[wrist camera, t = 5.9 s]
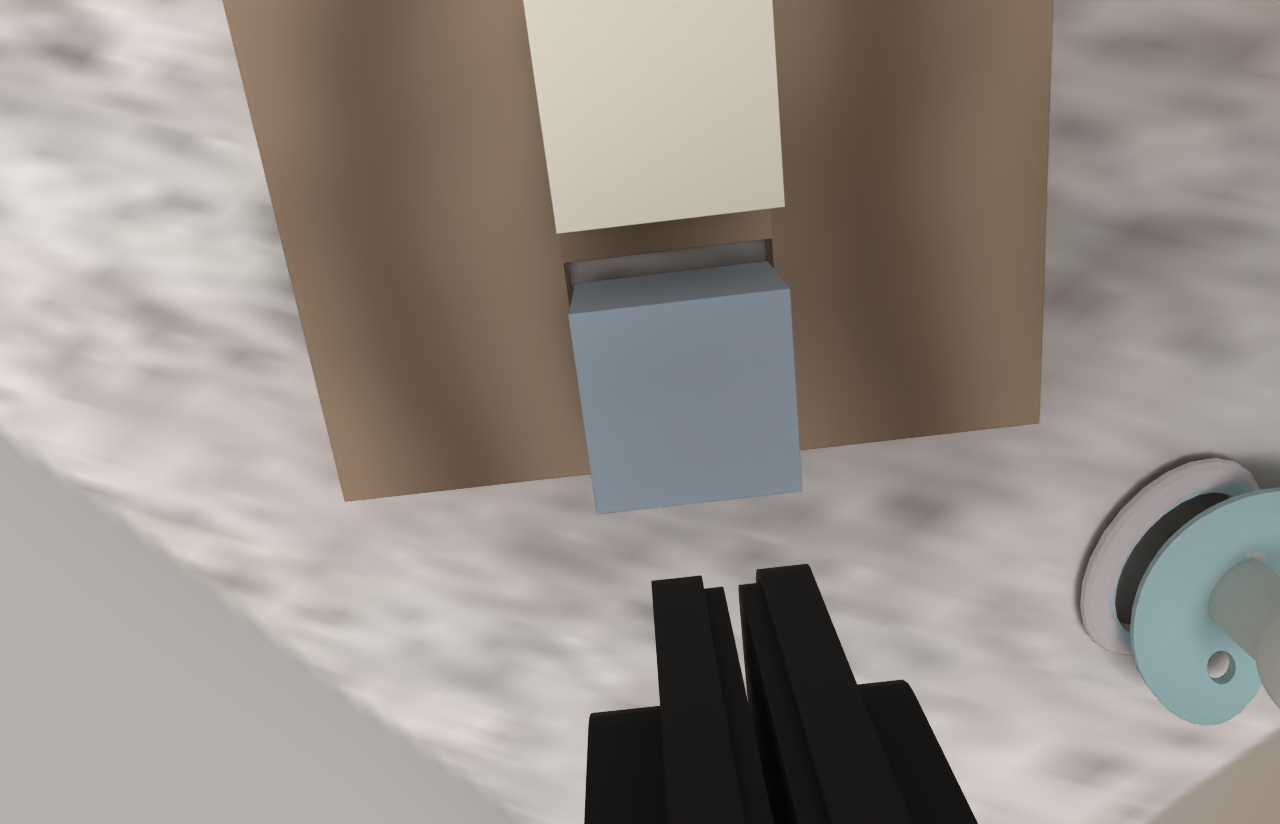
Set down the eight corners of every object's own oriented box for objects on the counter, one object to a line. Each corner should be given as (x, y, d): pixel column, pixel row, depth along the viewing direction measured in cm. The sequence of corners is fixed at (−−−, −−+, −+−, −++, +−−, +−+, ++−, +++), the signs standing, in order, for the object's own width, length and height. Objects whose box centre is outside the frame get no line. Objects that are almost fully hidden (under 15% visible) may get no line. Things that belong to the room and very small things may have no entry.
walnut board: (1041, -423, 19) (1067, -455, 18) (1020, 407, 25) (1038, 423, 24) (169, -309, 19) (141, -333, 18) (357, 482, 25) (344, 501, 24)
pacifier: (1028, 626, 28) (1201, 693, 28) (1131, 771, 22) (1347, 851, 22) (1164, 410, 25) (1349, 489, 26) (1321, 507, 19) (1553, 605, 20)
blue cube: (767, 260, 21) (789, 288, 18) (779, 439, 23) (802, 491, 20) (575, 283, 21) (568, 314, 18) (599, 460, 23) (596, 514, 20)
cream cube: (747, -28, 19) (769, -47, 16) (762, 189, 21) (784, 207, 18) (535, -2, 19) (520, -16, 16) (565, 212, 21) (556, 233, 18)
